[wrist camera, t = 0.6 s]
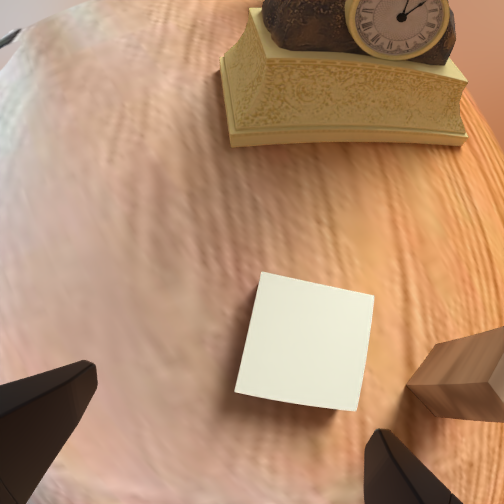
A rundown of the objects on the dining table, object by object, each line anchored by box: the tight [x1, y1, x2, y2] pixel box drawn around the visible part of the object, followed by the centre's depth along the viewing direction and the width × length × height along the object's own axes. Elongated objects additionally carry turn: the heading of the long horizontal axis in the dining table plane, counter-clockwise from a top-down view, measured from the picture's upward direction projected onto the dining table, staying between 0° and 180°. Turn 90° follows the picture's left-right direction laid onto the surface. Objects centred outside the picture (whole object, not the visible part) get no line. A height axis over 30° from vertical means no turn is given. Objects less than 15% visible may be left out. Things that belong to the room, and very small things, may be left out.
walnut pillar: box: [406, 326, 504, 423], centre depth 17 cm, size 4×4×10 cm
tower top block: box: [234, 272, 374, 411], centre depth 21 cm, size 8×8×2 cm
